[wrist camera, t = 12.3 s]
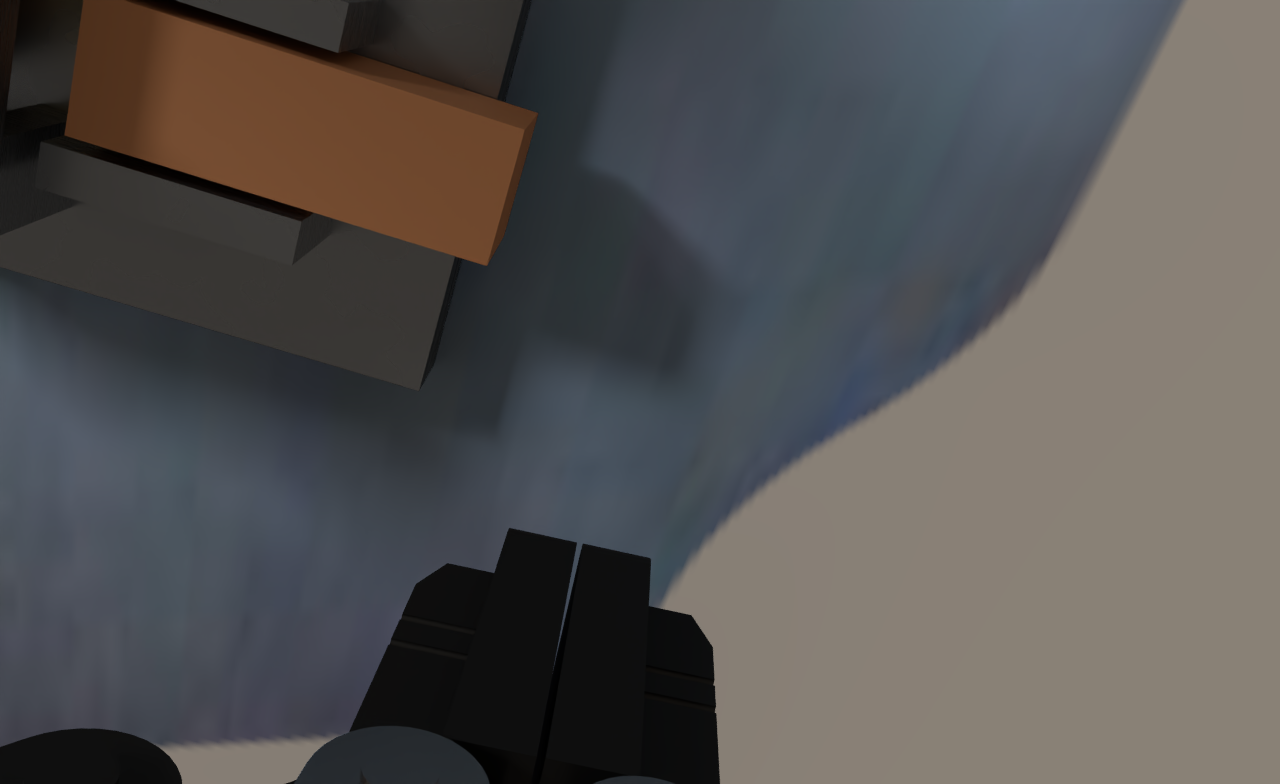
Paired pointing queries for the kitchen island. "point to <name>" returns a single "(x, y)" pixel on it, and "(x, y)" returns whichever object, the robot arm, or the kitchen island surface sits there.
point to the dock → (237, 193)
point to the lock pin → (299, 123)
